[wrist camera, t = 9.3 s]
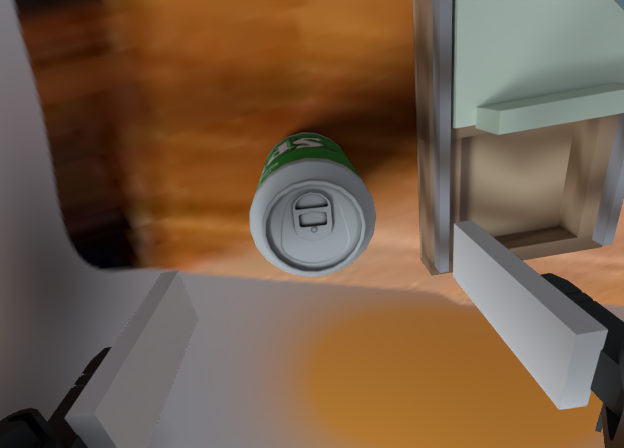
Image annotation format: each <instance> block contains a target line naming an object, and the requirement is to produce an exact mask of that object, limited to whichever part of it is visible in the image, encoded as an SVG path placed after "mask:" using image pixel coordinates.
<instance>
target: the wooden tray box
mask: <svg viewBox="0 0 624 448" xmlns="http://www.w3.org/2000/svg"><path fill="white" fill-rule="evenodd" d="M413 26H414V60H415V94H416V127H417V161H418V194H419V228H420V259H421V261H422V262H423V264H424V265H425V267H426V268H427V270H428V271H429V272H430V274H431V275H438V274H444V273H450V272H453V252H454V223H458V222H464V221H470V220H472V221H474V222H475V223H476V224H477V225H478V226H480V227H481V228H482V229H483V230H485V231H486V232H487V233H488V234H490V235H491V236H492V237H493V238H495V239H496V240H497V241H498V242H500V243H501V244H502V245H503V246H505V247H506V248H507V249H508V250H510V251H511V252H512V253H513V254H515V255H516V256H517V257H518V258H520V259H521V260H528V259H533V258H539V257H545V256H551V255H557V254H563V253H569V252H575V251H581V250H587V249H593V248H599V247H602V245H603V246H605V245H611V244H612V243H613V239H614V235H615V231H616V227H617V223H618V219H619V215H620V211H621V207H622V203H623V199H624V113H620V114H615V115H609V116H603V117H598V118H592V119H586V120H581V121H575V122H569V123H563V124H558V125H552V126H546V127H541V128H535V129H529V130H524V131H518V132H512V133H506V134H501V135H497V134H494V133H490V132H487V131H483V130H480V129H476V128H475V127H476V125H472V126H467V127H461V128H452V127H451V66H452V0H413Z"/></svg>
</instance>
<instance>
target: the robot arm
mask: <svg viewBox="0 0 624 448" xmlns="http://www.w3.org/2000/svg"><path fill="white" fill-rule="evenodd" d="M614 1H615V2H616V3H617V4H618V5H619V6H620V7H621V8H622V9H623V10H624V0H614ZM453 277H454V279H455V280H456V281H457V282H458V284H459V285H460V286H461V287H462V289H463V290H464V291H465V292H466V294H467V295H468V296H469V297H470V299H471V300H472V301H473V302H474V304H475V305H476V306H477V307H478V309H479V310H480V311H481V312H482V314H483V315H484V316H485V317H486V319H487V320H488V321H489V322H490V324H491V325H492V326H493V327H494V329H495V330H496V331H497V332H498V334H499V335H500V336H501V337H502V339H503V340H504V341H505V342H506V344H507V345H508V346H509V347H510V349H511V350H512V351H513V352H514V354H515V355H516V356H517V357H518V358H519V360H520V361H521V362H522V364H523V365H524V366H525V367H526V369H527V370H528V371H529V372H530V374H531V375H532V376H533V377H534V379H535V380H536V381H537V382H538V384H539V385H540V386H541V388H542V389H543V390H544V391H545V393H546V394H547V395H548V396H549V397H550V399H551V400H552V401H553V403H554V404H555V405H556V406H557V408H558V409H559V410H562V409H568V408H575V407H581V406H587V403H588V400H589V397H590V393H591V390H592V391H593V392H594V393H595V394H596V396H597V397H598V398H599V399H600V400H601V401H602V402H603V406H602V409H601V412H600V415H599V419H598V422H597V426H596V431H598V432H601V430H602V427H603V435H604V444H605V448H624V322H623V321H622V320H620V319H619V318H618V317H616V316H615V315H614V314H612V313H611V312H610V311H608V310H607V309H606V308H604V307H603V306H601V305H600V304H599V303H597V302H596V301H593V299H592V298H591V297H589V296H588V295H587V294H585V293H582V291H581V290H580V289H579V288H577V287H576V286H575V285H573V284H572V283H571V282H569V281H568V280H565V279H563V278H561V277H558V276H556V275H554V274H551V273H548V274H542V275H539V274H538V273H537V272H536V271H534V270H533V269H532V268H531V267H529V266H528V265H527V264H526V263H525V262H523V261H522V260H521V259H520V258H518V257H517V256H516V255H515V254H513V253H512V252H511V251H510V250H508V249H507V248H506V247H505V246H503V245H502V244H501V243H500V242H498V241H497V240H496V239H495V238H493V237H492V236H491V235H490V234H488V233H487V232H486V231H485V230H483V229H482V228H481V227H480V226H478V225H477V224H476V223H475V222H474V221H472V220H470V221H464V222H458V223H454V252H453ZM197 321H198V318H197V315H196V313H195V310H194V307H193V305H192V302H191V300H190V297H189V295H188V292H187V290H186V287H185V285H184V282H183V280H182V277H181V275H180V272H179V270H177V271H171V272H165V273H161V275H160V276H159V278H158V279H157V281H156V282H155V284H154V285H153V287H152V288H151V290H150V291H149V293H148V294H147V296H146V297H145V298H144V300H143V301H142V303H141V305H140V306H139V308H138V309H137V311H136V312H135V313H134V315H133V316H132V318H131V319H130V321H129V322H128V324H127V325H126V327H125V328H124V330H123V331H122V333H121V334H120V336H119V337H118V339H117V340H116V342H115V343H114V345H113V346H112V347H109V348H104V349H103V350H102V351H101V352H100V353H99V354H98V355H97V356H96V357H94V358H93V359H92V360H91V361H90V363H89V364H88V365H87V367H86V368H85V370H84V371H83V372H82V374H81V375H82V376H81V377H79V378H78V380H77V381H76V382H75V384H74V387H73V388H71V389H70V391H69V392H68V393H67V395H66V396H65V398H64V399H63V401H62V402H61V403H60V405H59V406H58V407H57V409H56V410H55V412H54V413H53V414H52V416H51V417H50V419H49V420H48V422H47V421H46V420H45V419H44V417H43V416H42V415H41V413H40V412H39V411H38V410H37V409H33V408H28V409H23V410H20V411H17V412H15V413H13V414H11V415H9V416H7V417H6V418H4V419H2V420H1V421H0V448H148V446H149V443H150V440H151V438H152V436H153V433H154V430H155V428H156V425H157V423H158V420H159V418H160V415H161V413H162V410H163V408H164V405H165V402H166V400H167V397H168V395H169V392H170V389H171V387H172V384H173V382H174V379H175V377H176V374H177V372H178V369H179V367H180V364H181V362H182V359H183V356H184V354H185V352H186V349H187V346H188V344H189V341H190V339H191V336H192V333H193V331H194V329H195V326H196V324H197Z"/></svg>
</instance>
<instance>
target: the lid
mask: <svg viewBox="0 0 624 448" xmlns="http://www.w3.org/2000/svg"><path fill="white" fill-rule="evenodd" d="M620 113H624V10H623V9H622V8H621V7H620V6H619V5H618V4H617V3H616V2H615V1H614V0H452V66H451V127H452V128H461V127H467V126H472V125H476V127H475V128H476V129H480V130H483V131H487V132H490V133H494V134H497V135H501V134H506V133H512V132H518V131H524V130H529V129H535V128H541V127H546V126H552V125H558V124H563V123H569V122H575V121H581V120H586V119H592V118H598V117H603V116H609V115H615V114H620Z"/></svg>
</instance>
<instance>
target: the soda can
mask: <svg viewBox="0 0 624 448" xmlns="http://www.w3.org/2000/svg"><path fill="white" fill-rule="evenodd" d="M375 220H376V213H375V208H374V203H373V198H372V196H371V194H370V193H369V191H368V189H367V187H366V186H365V184H364V182H363V181H362V179H361V178H360V176H359V175H358V173H357V172H356V170H355V169H354V167H353V166H352V164H351V163H350V161H349V160H348V158H347V157H346V155H345V154H344V152H343V151H342V149H341V148H340V147H339V146H338V145H337V144H336V143H335V142H333V141H332V140H331V139H330V138H327V137H325V136H322V135H320V134H317V133H303V132H302V133H298V134H295V135H291V136H288V137H286V138H285V139H283V140H282V141H280V142H279V143H278V144H276V145H275V147H274V148H273V149H272V151H271V152H270V153H269V155H268V157H267V160H266V163H265V166H264V169H263V172H262V175H261V178H260V181H259V184H258V187H257V190H256V193H255V196H254V199H253V202H252V205H251V208H250V231H251V234H252V236H253V239H254V242H255V244H256V247H257V248H258V249H259V251H260V252H261V253H262V254H263V256H264V257H265V258H266V259H267V260H268V261H269V262H270V263H272V264H273V265H275V266H277V267H278V268H280V269H281V270H283V271H286V272H289V273H292V274H296V275H299V276H322V275H326V274H330V273H334V272H337V271H339V270H341V269H343V268H345V267H346V266H348V265H350V264H352V263H353V262H354V261H355V260H356V259H357V258H358V257H359V256H360V255H361V254H362V253H363V252H364V251H365V249H366V247H367V245H368V244H369V242H370V240H371V238H372V236H373V233H374V226H375Z"/></svg>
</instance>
